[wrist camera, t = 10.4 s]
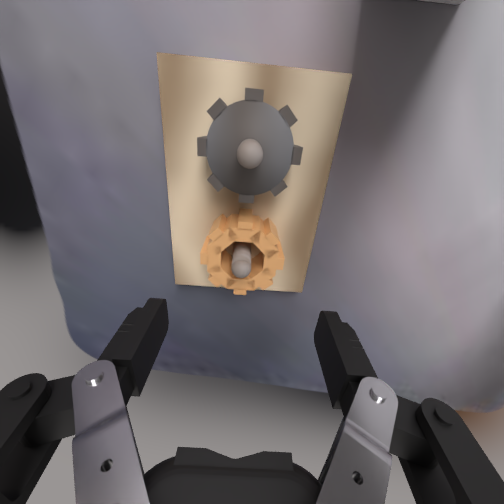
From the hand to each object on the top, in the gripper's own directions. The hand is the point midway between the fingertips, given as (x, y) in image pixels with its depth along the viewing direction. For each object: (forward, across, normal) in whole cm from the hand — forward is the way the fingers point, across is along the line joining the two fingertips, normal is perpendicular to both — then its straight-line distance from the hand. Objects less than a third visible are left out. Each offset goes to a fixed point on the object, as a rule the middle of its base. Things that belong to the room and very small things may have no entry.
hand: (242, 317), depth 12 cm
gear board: (+10, 0, -4) cm, 11 cm away
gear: (+9, 0, 0) cm, 9 cm away
